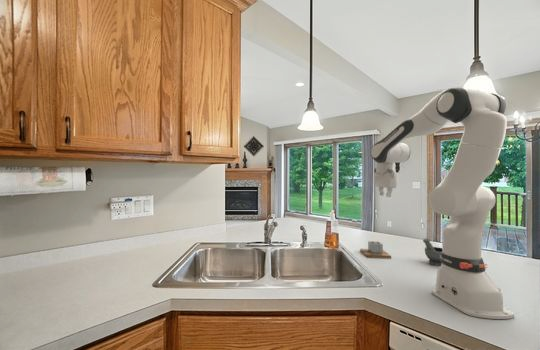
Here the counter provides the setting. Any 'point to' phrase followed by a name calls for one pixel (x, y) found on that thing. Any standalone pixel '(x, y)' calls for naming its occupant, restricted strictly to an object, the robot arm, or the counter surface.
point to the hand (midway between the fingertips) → (385, 196)
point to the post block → (369, 255)
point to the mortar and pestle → (432, 253)
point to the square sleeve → (375, 248)
